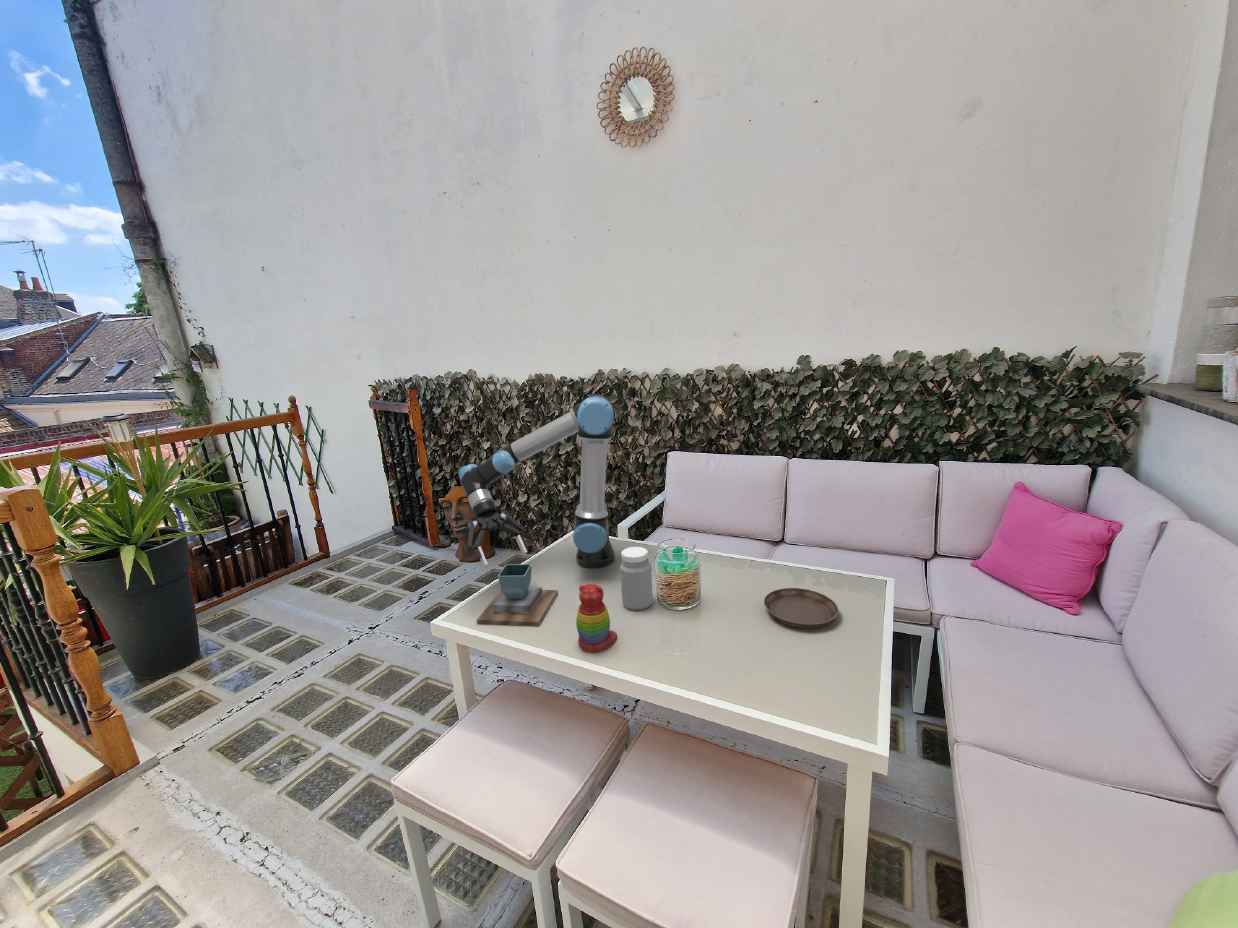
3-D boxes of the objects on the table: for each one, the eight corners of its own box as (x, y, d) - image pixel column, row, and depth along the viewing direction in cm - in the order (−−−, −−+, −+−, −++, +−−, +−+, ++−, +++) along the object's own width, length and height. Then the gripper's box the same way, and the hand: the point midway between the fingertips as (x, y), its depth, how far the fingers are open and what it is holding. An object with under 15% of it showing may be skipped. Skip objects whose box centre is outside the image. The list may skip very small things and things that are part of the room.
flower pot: (534, 588, 166) (531, 563, 164) (528, 601, 158) (524, 575, 156) (508, 589, 167) (505, 564, 165) (500, 602, 159) (497, 576, 157)
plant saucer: (848, 610, 150) (849, 600, 149) (820, 642, 135) (821, 631, 135) (782, 590, 164) (782, 581, 163) (751, 618, 149) (751, 607, 149)
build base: (558, 594, 171) (556, 581, 170) (539, 626, 152) (537, 612, 151) (502, 592, 175) (500, 580, 174) (477, 624, 156) (475, 610, 155)
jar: (630, 614, 155) (627, 560, 151) (617, 601, 164) (613, 549, 160) (658, 606, 159) (655, 553, 155) (644, 593, 168) (641, 543, 163)
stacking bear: (619, 635, 145) (615, 578, 141) (607, 655, 135) (602, 595, 131) (584, 630, 148) (579, 574, 144) (570, 650, 139) (564, 591, 135)
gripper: (514, 502, 181) (537, 553, 173) (444, 520, 167) (466, 576, 159) (519, 491, 176) (543, 543, 167) (447, 508, 162) (470, 566, 154)
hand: (506, 560), depth 163 cm, fingers open, 13 cm apart
